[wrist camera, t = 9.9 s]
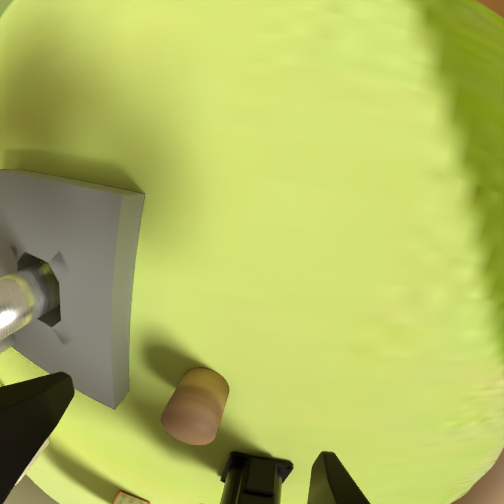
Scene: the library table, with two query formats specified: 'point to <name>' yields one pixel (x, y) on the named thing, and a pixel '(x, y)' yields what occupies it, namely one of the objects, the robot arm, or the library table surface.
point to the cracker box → (128, 499)
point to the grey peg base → (74, 275)
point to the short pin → (196, 407)
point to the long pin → (27, 296)
